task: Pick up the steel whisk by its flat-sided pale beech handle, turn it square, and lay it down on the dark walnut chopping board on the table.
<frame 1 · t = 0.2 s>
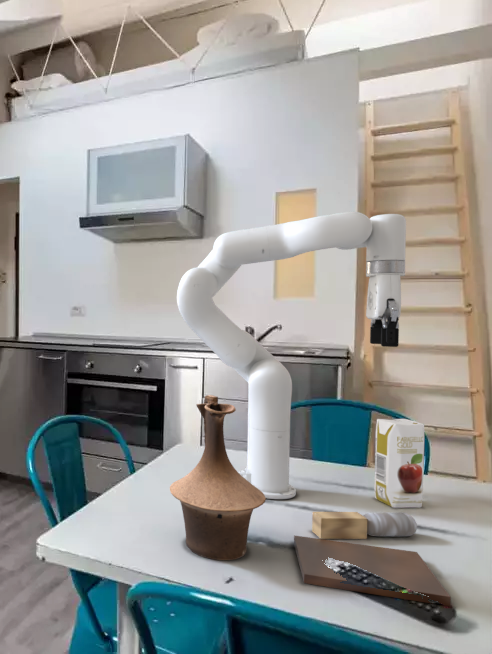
hand: (383, 345, 123), 36 cm above the table, tool pointing down, fingers open, 9 cm apart
juice carton: (397, 503, 125), on the table
whisk: (366, 535, 107), on the table
pitcher: (215, 547, 101), on the table
chopping board: (363, 571, 92), on the table
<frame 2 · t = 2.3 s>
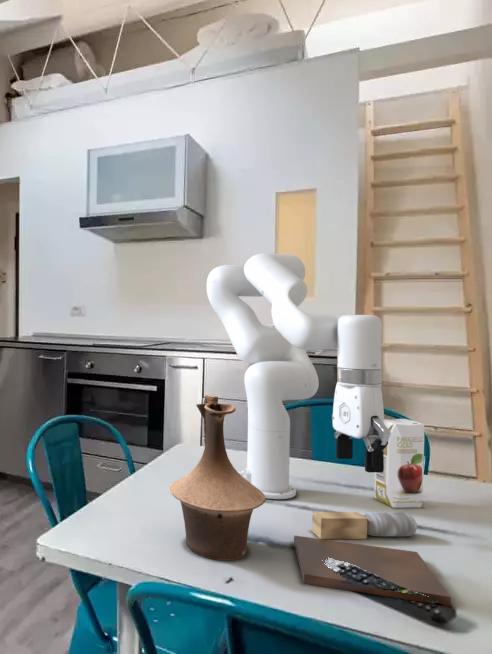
hand: (358, 464, 106), 14 cm above the table, tool pointing down, fingers open, 9 cm apart
nothing on the table moved.
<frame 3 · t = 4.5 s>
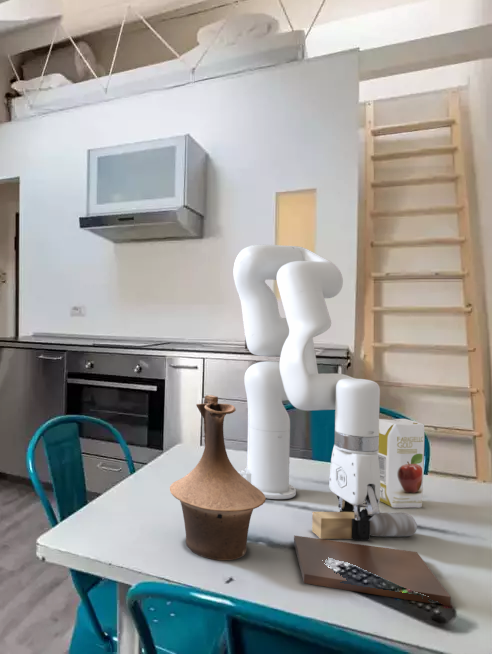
hand: (354, 534, 107), 0 cm above the table, tool pointing down, fingers closed on whisk, 3 cm apart
whisk: (366, 535, 107), on the table, touching gripper
everything else where it was.
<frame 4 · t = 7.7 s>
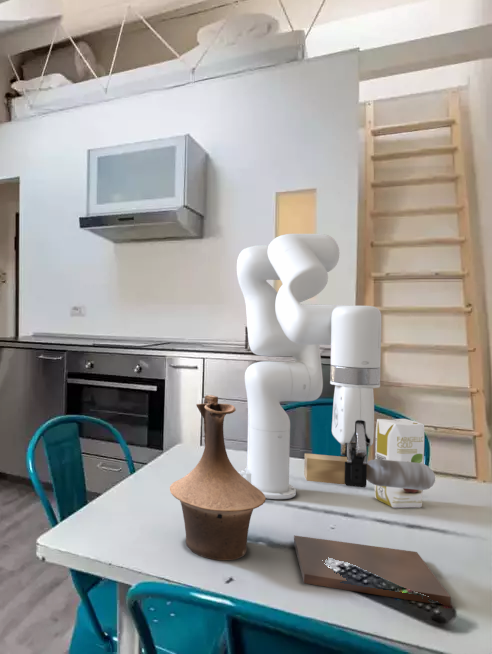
hand: (352, 481, 94), 15 cm above the table, tool pointing down, fingers closed on whisk, 3 cm apart
whisk: (369, 484, 93), point 14 cm above the table, touching gripper
everything else where it was.
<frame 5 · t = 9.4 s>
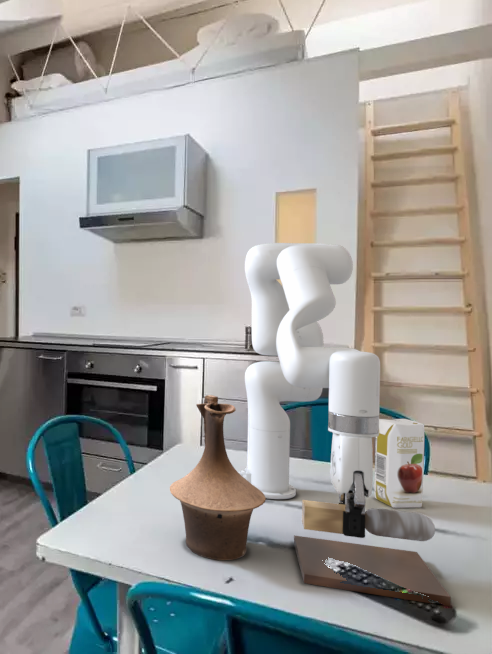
hand: (351, 530, 92), 7 cm above the table, tool pointing down, fingers closed on whisk, 3 cm apart
whisk: (368, 533, 92), point 7 cm above the table, touching gripper
everything else where it was.
when the fingers open (2 cm above the table, at t = 11.0 s): whisk stays where it is, resting on chopping board.
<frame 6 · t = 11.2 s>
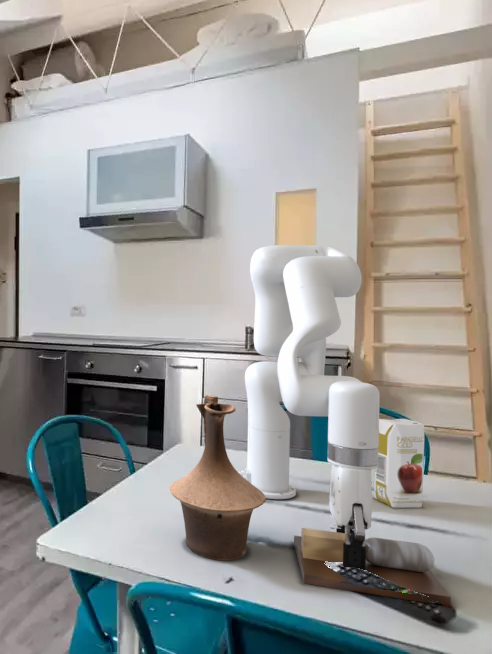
hand: (350, 559, 93), 2 cm above the table, tool pointing down, fingers open, 5 cm apart
whisk: (367, 563, 92), point 1 cm above the table, touching chopping board
everything else where it was.
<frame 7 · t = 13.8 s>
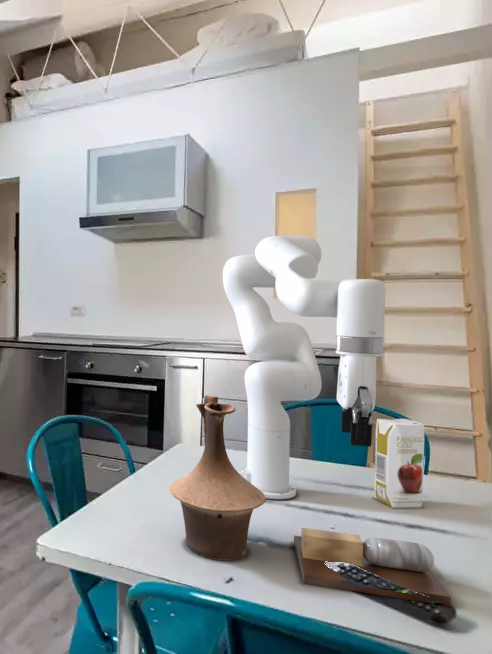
hand: (355, 438, 100), 21 cm above the table, tool pointing down, fingers open, 9 cm apart
nothing on the table moved.
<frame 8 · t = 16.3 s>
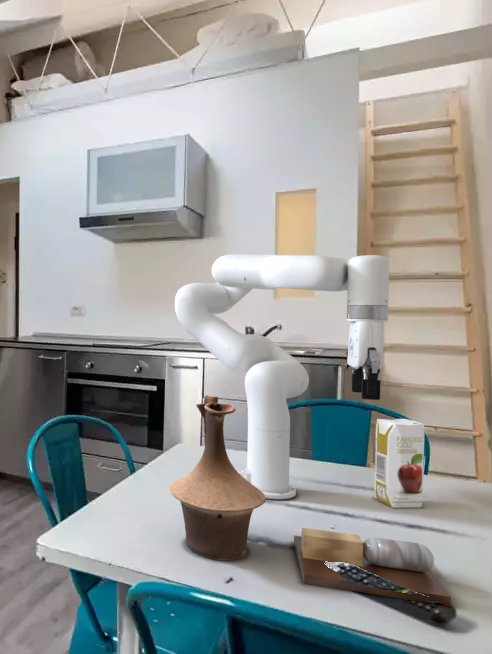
hand: (365, 395, 114), 26 cm above the table, tool pointing down, fingers open, 9 cm apart
nothing on the table moved.
at the end: whisk inside the target area on the chopping board (0.6 cm from its centre), point 1.5 cm above the chopping board's base; whisk touching chopping board; the gripper is holding nothing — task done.
